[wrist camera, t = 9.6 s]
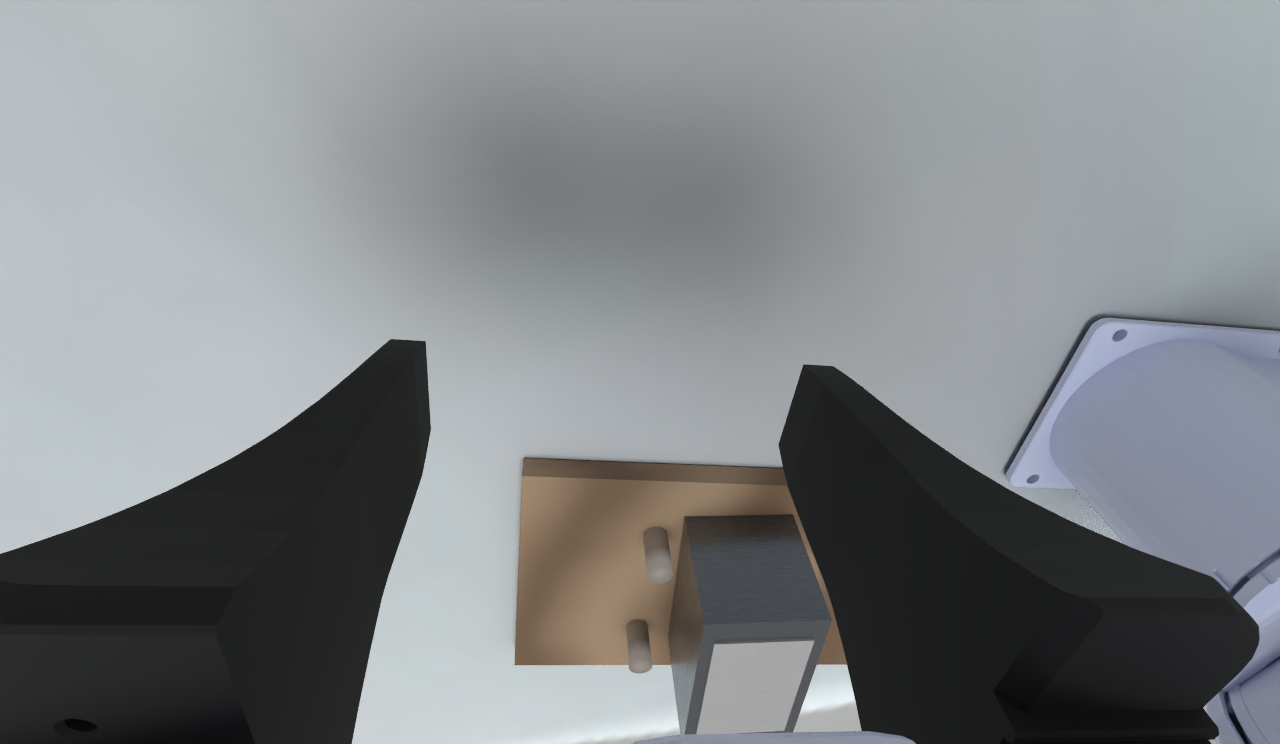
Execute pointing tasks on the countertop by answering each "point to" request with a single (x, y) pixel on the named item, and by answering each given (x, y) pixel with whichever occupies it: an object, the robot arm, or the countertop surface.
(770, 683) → the block
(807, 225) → the countertop surface
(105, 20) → the countertop surface
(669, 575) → the pin tray
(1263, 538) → the robot arm
